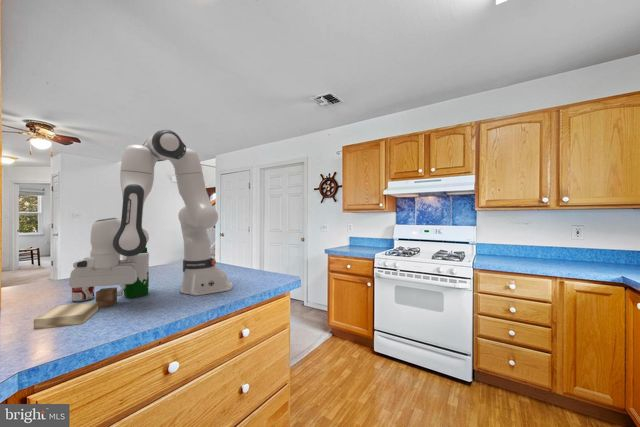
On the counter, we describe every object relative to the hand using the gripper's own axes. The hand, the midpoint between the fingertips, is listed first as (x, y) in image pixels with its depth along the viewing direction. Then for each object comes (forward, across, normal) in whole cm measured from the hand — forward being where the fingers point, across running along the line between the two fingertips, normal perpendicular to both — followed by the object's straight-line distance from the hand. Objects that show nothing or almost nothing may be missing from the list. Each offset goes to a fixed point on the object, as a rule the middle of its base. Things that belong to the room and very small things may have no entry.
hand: (104, 297), depth 102 cm
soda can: (+4, +10, -11) cm, 15 cm away
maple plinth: (+4, +7, +10) cm, 13 cm away
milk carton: (+3, -8, -10) cm, 13 cm away
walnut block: (+3, 0, -1) cm, 3 cm away
